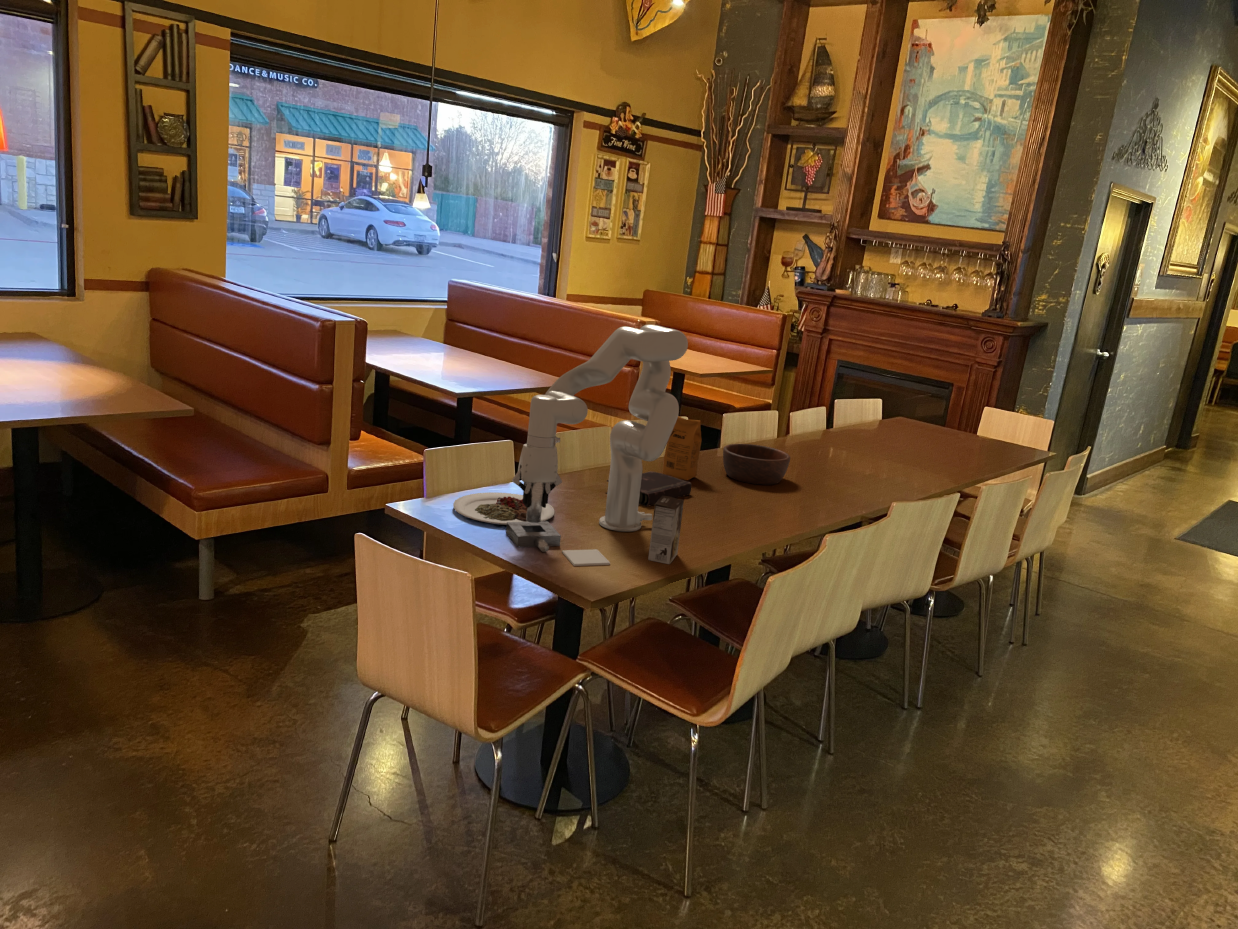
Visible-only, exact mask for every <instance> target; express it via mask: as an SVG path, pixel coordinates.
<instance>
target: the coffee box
mask: <svg viewBox="0 0 1238 929" xmlns="http://www.w3.org/2000/svg"><path fill="white" fill-rule="evenodd" d="M684 502H685V499H682V498H674V497H669V496H662V497H661V498H660V499H659V500H658V501H657V502H656V503H655V504H654V508H653V515H652V523H651V524H652V526H651V534H650V541H649V542H650V543H649V550H648V556H647V557H648V558H647V559H648V561H652V562H656V563H661V564H666V565H671V563H672V562H673V561H674V559H675V558H676V556H677V555H678V552H679V544H680V543H679V542H680V535H681V528H682V518H683V512H684V511H683V510H684V505H685V504H684Z"/></svg>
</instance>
